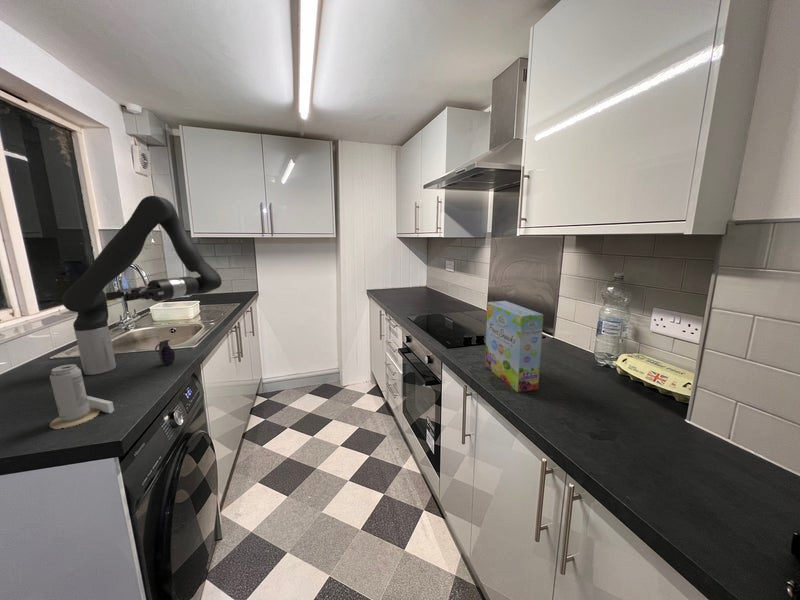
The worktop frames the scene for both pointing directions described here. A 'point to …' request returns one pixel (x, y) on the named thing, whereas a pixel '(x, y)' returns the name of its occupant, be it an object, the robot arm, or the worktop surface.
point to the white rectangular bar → (100, 404)
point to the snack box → (514, 344)
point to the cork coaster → (61, 424)
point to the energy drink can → (69, 392)
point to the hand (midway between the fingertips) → (115, 297)
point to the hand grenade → (165, 352)
